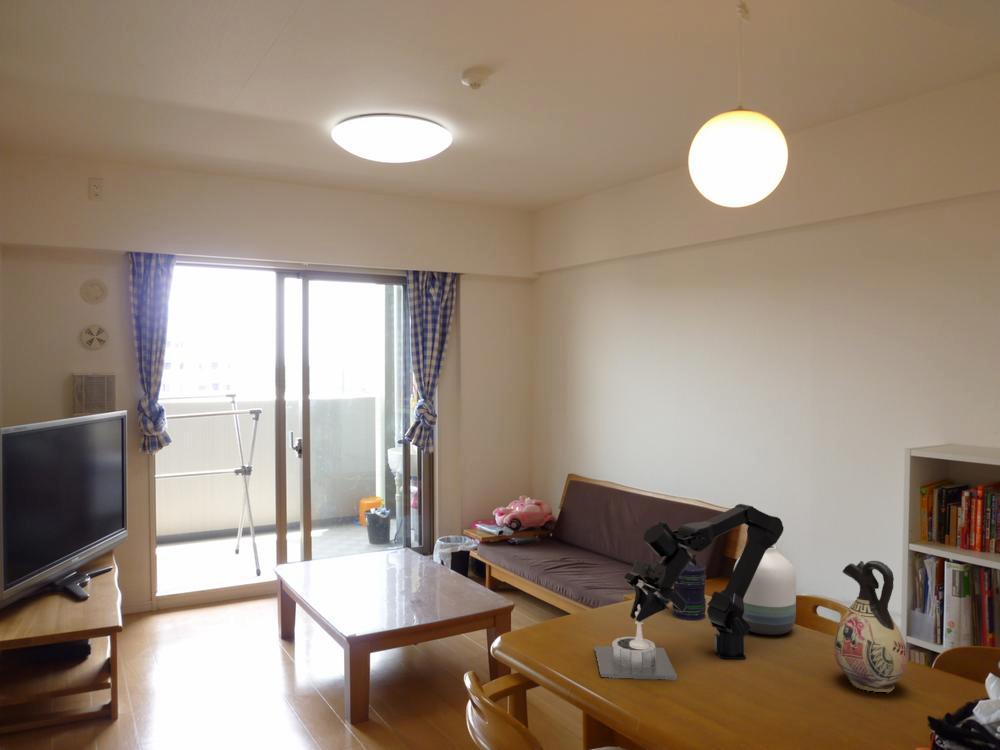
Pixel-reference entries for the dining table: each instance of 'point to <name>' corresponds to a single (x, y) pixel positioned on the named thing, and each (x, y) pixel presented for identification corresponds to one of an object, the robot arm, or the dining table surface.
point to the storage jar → (692, 593)
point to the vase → (771, 595)
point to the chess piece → (639, 635)
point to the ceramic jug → (870, 633)
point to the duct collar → (634, 661)
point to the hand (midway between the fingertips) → (634, 619)
